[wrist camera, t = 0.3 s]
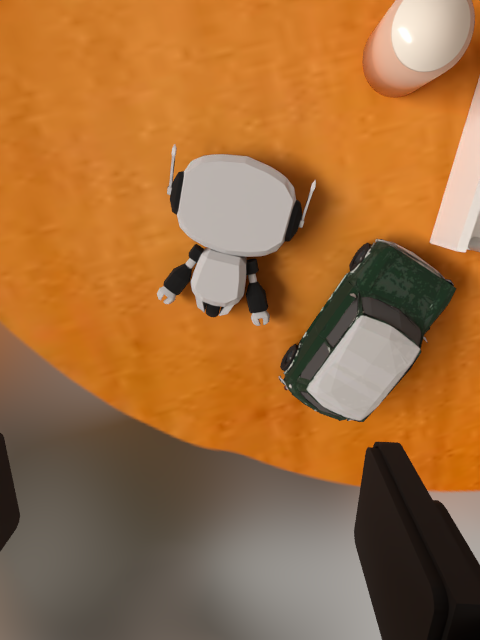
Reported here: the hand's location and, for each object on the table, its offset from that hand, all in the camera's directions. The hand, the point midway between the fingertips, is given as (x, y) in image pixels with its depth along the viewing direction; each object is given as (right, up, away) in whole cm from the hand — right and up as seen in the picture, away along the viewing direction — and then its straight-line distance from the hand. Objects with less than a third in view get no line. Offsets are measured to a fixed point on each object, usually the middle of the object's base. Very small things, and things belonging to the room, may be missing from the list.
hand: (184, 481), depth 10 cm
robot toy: (0, +12, +28) cm, 31 cm away
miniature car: (+13, +4, +31) cm, 34 cm away
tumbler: (+15, +26, +22) cm, 37 cm away
